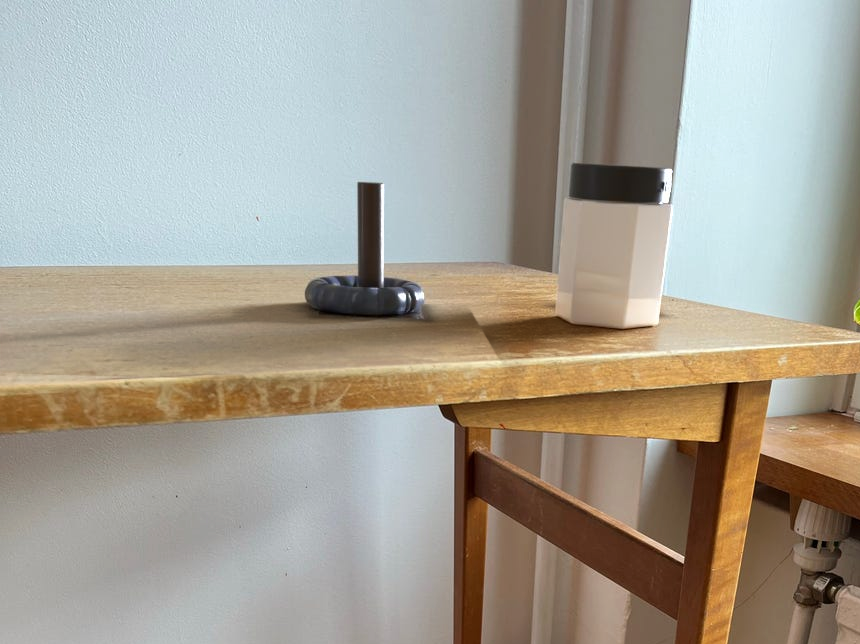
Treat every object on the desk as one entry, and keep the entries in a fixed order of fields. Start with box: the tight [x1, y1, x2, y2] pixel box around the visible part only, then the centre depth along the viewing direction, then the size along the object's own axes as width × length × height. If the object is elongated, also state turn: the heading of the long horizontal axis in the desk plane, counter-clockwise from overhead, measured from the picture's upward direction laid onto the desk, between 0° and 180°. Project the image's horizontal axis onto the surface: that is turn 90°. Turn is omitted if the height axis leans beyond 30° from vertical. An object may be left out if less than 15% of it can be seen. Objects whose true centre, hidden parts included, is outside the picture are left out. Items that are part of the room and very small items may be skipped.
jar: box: [554, 162, 673, 330], centre depth 81 cm, size 9×8×12 cm
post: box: [316, 181, 425, 320], centre depth 75 cm, size 8×8×10 cm
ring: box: [304, 274, 425, 316], centre depth 76 cm, size 9×9×2 cm
